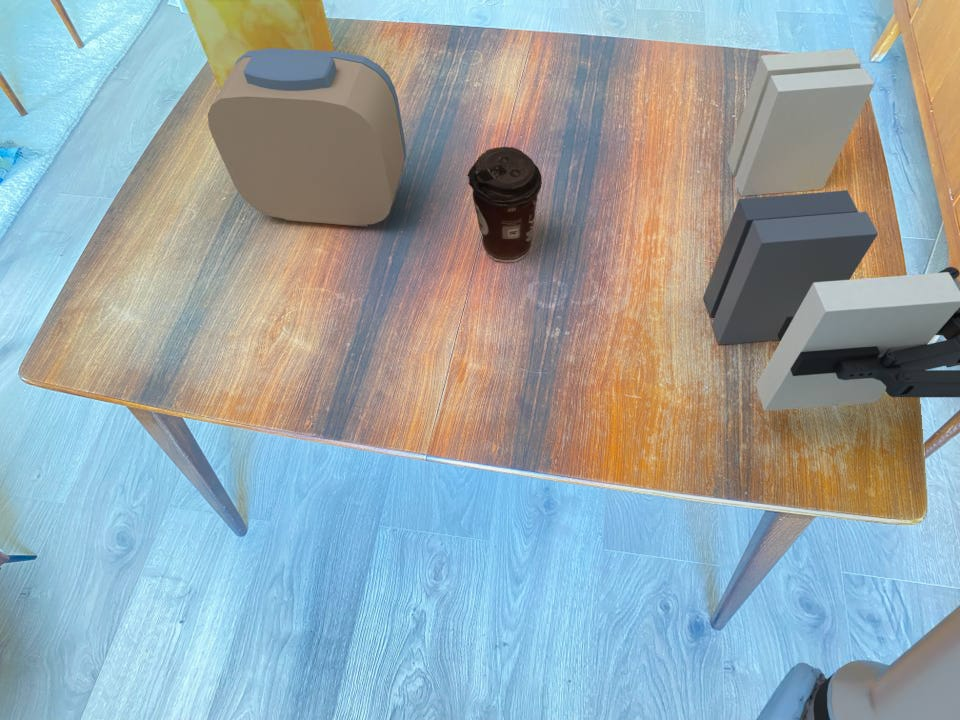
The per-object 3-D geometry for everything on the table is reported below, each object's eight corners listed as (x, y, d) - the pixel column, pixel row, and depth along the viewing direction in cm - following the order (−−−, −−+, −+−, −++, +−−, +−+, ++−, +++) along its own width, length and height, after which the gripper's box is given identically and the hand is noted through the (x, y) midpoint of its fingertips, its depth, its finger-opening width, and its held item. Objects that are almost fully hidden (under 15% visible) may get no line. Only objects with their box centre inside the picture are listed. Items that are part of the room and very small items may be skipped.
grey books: (813, 337, 79) (878, 233, 64) (717, 345, 79) (761, 243, 64) (794, 290, 83) (851, 182, 68) (703, 297, 83) (741, 191, 68)
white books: (822, 189, 91) (874, 83, 78) (740, 196, 92) (778, 91, 78) (805, 154, 95) (852, 47, 82) (726, 161, 95) (760, 55, 82)
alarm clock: (413, 185, 96) (389, 39, 78) (399, 235, 90) (369, 91, 72) (273, 175, 98) (218, 31, 80) (251, 223, 93) (187, 81, 75)
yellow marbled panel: (350, 59, 113) (314, -104, 93) (327, 106, 106) (283, -58, 86) (251, 52, 115) (195, -108, 95) (222, 97, 109) (156, -64, 89)
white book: (876, 402, 67) (965, 300, 54) (763, 411, 67) (825, 311, 54) (864, 376, 69) (948, 271, 55) (755, 385, 69) (813, 282, 55)
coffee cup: (467, 265, 87) (459, 188, 76) (478, 218, 91) (472, 138, 81) (535, 272, 86) (537, 194, 75) (543, 224, 90) (546, 144, 80)
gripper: (1076, 426, 59) (804, 448, 59) (987, 283, 68) (751, 301, 68) (1143, 381, 53) (839, 404, 53) (1035, 229, 62) (775, 249, 62)
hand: (790, 346), depth 60 cm, fingers closed on white book, 3 cm apart
